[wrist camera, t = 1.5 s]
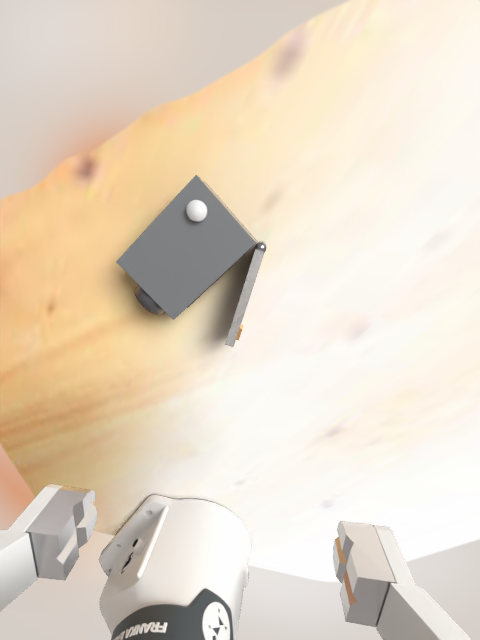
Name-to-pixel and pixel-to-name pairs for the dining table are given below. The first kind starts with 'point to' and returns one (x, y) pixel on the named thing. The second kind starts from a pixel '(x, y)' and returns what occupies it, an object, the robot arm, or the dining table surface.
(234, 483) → the dining table surface
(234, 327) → the side door
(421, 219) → the dining table surface
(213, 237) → the camera body
